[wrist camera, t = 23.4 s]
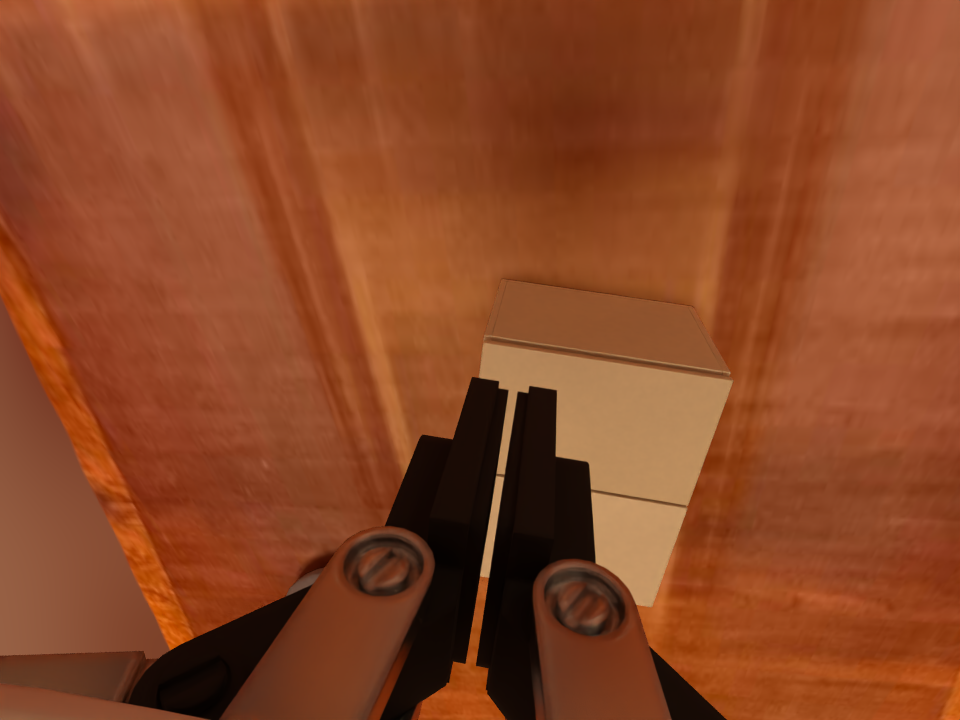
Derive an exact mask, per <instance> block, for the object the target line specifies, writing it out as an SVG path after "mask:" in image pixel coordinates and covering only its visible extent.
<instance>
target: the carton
mask: <svg viewBox="0 0 960 720" xmlns="http://www.w3.org/2000/svg"><path fill="white" fill-rule="evenodd" d="M484 340H489V341H496V342H502V343H509V344H515V345H522V346H528V347H535V348H541V349H548V350H555V351H561V352H568V353H574V354H581V355H587V356H594V357H601V358H607V359H614V360H620V361H627V362H633V363H640V364H647V365H653V366H660V367H666V368H673V369H679V370H686V371H692V372H699V373H706V374H712V375H719V376H725V377H729V375H730V371H729V369H728V367H727V365H726V364H725V362H724V360H723V358H722V357H721V355H720V353H719V351H718V350H717V348H716V346H715V344H714V343H713V341H712V339H711V337H710V335H709V334H708V332H707V330H706V328H705V327H704V325H703V323H702V321H701V320H700V318H699V316H698V314H697V313H696V311H695V309H694V307H693V306H687V305H680V304H673V303H666V302H659V301H652V300H645V299H638V298H631V297H624V296H617V295H611V294H604V293H597V292H590V291H583V290H576V289H569V288H562V287H555V286H548V285H541V284H534V283H527V282H520V281H514V280H507V279H501V282H500V285H499V288H498V292H497V295H496V298H495V301H494V305H493V308H492V311H491V314H490V318H489V321H488V324H487V327H486V331H485V334H484ZM484 340H483V341H484ZM503 481H504V475H503V474H496V481H495V487H494V494H493V501H492V507H491V513H490V519H489V525H488V531H487V537H486V543H485V549H484V555H483V561H482V567H481V573H480V576H483V577H488V578H489V574H490V568H491V561H492V554H493V547H494V541H495V534H496V527H497V520H498V514H499V507H500V501H501V494H502V488H503ZM591 497H592V512H593V527H594V542H595V556H596V564H598V565H600V566H602V567H605V568H606V569H608V570H609V571H611V572H612V573H613V574H615V575H616V576H618V577H619V578H620V579H621V581H622V582H623V583H624V584H625V585H626V586H627V587H628V589H629V590H630V592H631V594H632V596H633V599H634V601H635V603H636V604H637V605H642V606H647V607H652V605H653V603H654V600H655V597H656V594H657V592H658V589H659V586H660V583H661V580H662V578H663V575H664V572H665V569H666V566H667V564H668V561H669V558H670V555H671V553H672V550H673V547H674V544H675V541H676V539H677V536H678V533H679V530H680V528H681V525H682V522H683V519H684V516H685V514H686V511H687V506H686V505H681V504H675V503H669V502H663V501H657V500H651V499H646V498H640V497H634V496H628V495H622V494H616V493H610V492H604V491H598V490H592V489H591Z"/></svg>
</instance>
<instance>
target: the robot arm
mask: <svg viewBox="0 0 960 720" xmlns="http://www.w3.org/2000/svg"><path fill="white" fill-rule="evenodd" d="M508 393H509V390H506V389H500V388H499V381H495V380H489V379H483V378H476V377H472V379H471V382H470V385H469V389H468V392H467V395H466V398H465V402H464V405H463V408H462V412H461V415H460V418H459V422H458V425H457V428H456V431H455V435H454V438H453V440H452V439H446V438H440V437H434V436H428V435H422V436H421V437H420V439H419V441H418V444H417V446H416V449H415V451H414V454H413V456H412V459H411V461H410V464H409V466H408V469H407V472H406V474H405V477H404V479H403V482H402V484H401V487H400V489H399V492H398V494H397V497H396V499H395V502H394V504H393V507H392V509H391V512H390V514H389V517H388V519H387V522H386V524H385V526H381V527H373V528H369V529H366V530H362V531H360V532H358V533H356V534H355V535H353V536H351V537H349V538H348V539H347V540H346V541H345V542H344V543H343V544H342V545H341V546H340V547H339V548H338V549H337V551H336V552H335V554H334V555H333V557H332V558H331V559H330V561H329V562H328V564H327V565H326V567H325V568H324V569H323V571H322V572H321V574H320V575H319V577H318V578H317V580H316V581H315V582H314V584H312V585H310V586H308V587H305V588H303V589H301V590H299V591H297V592H295V593H292V594H290V595H288V596H286V597H284V598H281V599H279V600H277V601H275V602H273V603H270V604H268V605H266V606H264V607H262V608H260V609H257V610H255V611H253V612H251V613H249V614H246V615H244V616H242V617H240V618H238V619H235V620H233V621H231V622H229V623H227V624H225V625H222V626H220V627H218V628H216V629H214V630H211V631H209V632H207V633H205V634H203V635H200V636H198V637H196V638H194V639H192V640H190V641H187V642H185V643H183V644H181V645H179V646H177V647H176V648H174V649H172V650H171V651H169V652H167V653H166V654H164V655H162V656H161V657H160V658H159V659H146V658H145V654H144V651H132V652H131V651H130V652H101V653H72V654H71V653H70V654H42V655H12V656H0V720H418V718H419V715H420V710H421V706H422V701H423V700H425V699H426V698H428V697H429V696H431V695H432V694H434V693H435V692H437V691H438V690H440V689H441V688H443V687H444V686H446V683H449V680H450V674H451V669H452V664H453V661H454V662H459V663H464V664H465V663H466V657H467V651H468V645H469V639H470V633H471V627H472V621H473V615H474V609H475V603H476V597H477V591H478V585H479V579H480V573H481V567H482V561H483V555H484V549H485V543H486V537H487V531H488V525H489V519H490V513H491V507H492V501H493V494H494V487H495V481H496V474H497V467H498V460H499V454H500V447H501V440H502V433H503V427H504V420H505V413H506V406H507V400H508ZM556 418H557V390H553V389H547V388H540V387H534V386H529V390H528V393H525V392H519V391H518V392H517V398H516V405H515V411H514V418H513V424H512V430H511V437H510V443H509V449H508V456H507V462H506V469H505V475H504V481H503V488H502V494H501V501H500V507H499V514H498V520H497V527H496V534H495V541H494V547H493V554H492V561H491V568H490V574H489V581H488V588H487V595H486V602H485V608H484V615H483V622H482V629H481V635H480V642H479V649H478V656H477V662H476V666H480V667H485V668H489V669H488V677H487V685H486V690H488V692H487V694H488V695H489V696H490V698H491V699H492V700H493V702H494V703H495V704H496V706H497V707H498V708H499V710H500V711H501V712H502V714H503V715H504V716H505V720H726V719H725V718H724V717H723V716H722V715H721V714H720V713H719V712H718V711H717V710H716V709H715V708H714V707H713V706H712V705H711V704H710V703H708V702H707V701H706V700H705V699H704V698H703V697H702V696H701V695H700V694H699V693H698V692H697V691H696V690H695V689H694V688H693V687H692V686H691V685H690V684H689V683H687V682H686V681H685V680H684V679H683V678H682V677H681V676H680V675H679V674H678V673H677V672H676V671H675V670H674V669H673V668H672V667H671V666H670V665H669V664H667V663H666V662H665V661H664V660H663V659H662V658H661V657H660V656H659V655H658V654H657V653H656V652H655V651H654V650H653V649H652V648H651V647H650V646H649V645H648V642H647V638H646V635H645V632H644V629H643V625H642V622H641V619H640V616H639V612H638V609H637V606H636V603H635V601H634V599H633V596H632V594H631V592H630V590H629V589H628V587H627V586H626V585H625V584H624V583H623V582H622V581H621V579H620V578H619V577H618V576H616V575H615V574H613V573H612V572H611V571H609V570H608V569H606V568H605V567H602V566H600V565H598V564H596V556H595V542H594V527H593V512H592V497H591V482H590V468H589V463H588V462H586V461H580V460H574V459H568V458H562V457H556Z"/></svg>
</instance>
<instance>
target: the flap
mask: <svg viewBox="0 0 960 720" xmlns="http://www.w3.org/2000/svg"><path fill="white" fill-rule="evenodd" d="M479 378H483V379H489V380H495V381H499V388H500V389H506V390H509V393H508V400H507V406H506V413H505V420H504V427H503V433H502V440H501V447H500V454H499V460H498V467H497V474H503V475H505V469H506V462H507V456H508V449H509V443H510V437H511V430H512V424H513V418H514V411H515V405H516V398H517V392H518V391H519V392H525V393H528V390H529V386H534V387H540V388H547V389H553V390H557V418H556V457H562V458H568V459H574V460H580V461H586V462H588V463H589V468H590V482H591V489H592V490H598V491H604V492H610V493H616V494H622V495H628V496H634V497H640V498H646V499H651V500H657V501H663V502H669V503H675V504H681V505H688V504H689V501H690V498H691V496H692V493H693V490H694V487H695V485H696V482H697V479H698V476H699V474H700V471H701V468H702V465H703V463H704V460H705V457H706V454H707V452H708V449H709V446H710V443H711V441H712V438H713V435H714V432H715V430H716V427H717V424H718V422H719V419H720V416H721V413H722V411H723V408H724V405H725V402H726V400H727V397H728V394H729V391H730V389H731V386H732V383H733V380H732V378H731V377H725V376H719V375H712V374H706V373H699V372H692V371H686V370H679V369H673V368H666V367H660V366H653V365H647V364H640V363H633V362H627V361H620V360H614V359H607V358H601V357H594V356H587V355H581V354H574V353H568V352H561V351H555V350H548V349H541V348H535V347H528V346H522V345H515V344H509V343H502V342H496V341H489V340H484V341H483V347H482V355H481V364H480V372H479Z"/></svg>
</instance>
